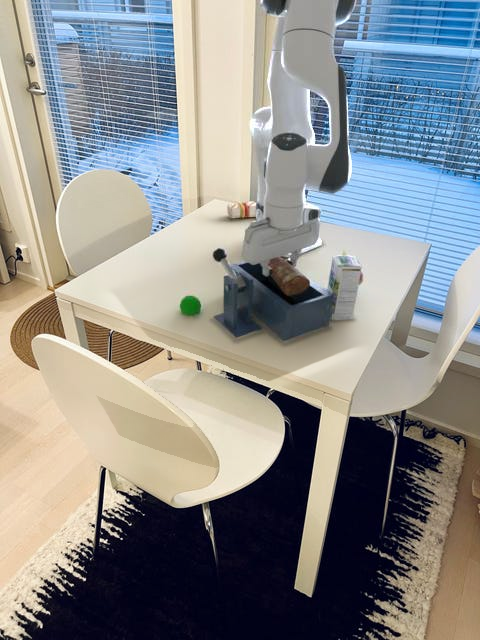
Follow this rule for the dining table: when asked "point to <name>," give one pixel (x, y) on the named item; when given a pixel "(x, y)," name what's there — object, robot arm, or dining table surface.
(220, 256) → the toaster lever
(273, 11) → the robot arm
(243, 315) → the lever bracket
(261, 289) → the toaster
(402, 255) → the dining table surface
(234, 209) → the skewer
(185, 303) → the polyhedron
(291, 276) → the bread
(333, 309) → the syrup box
